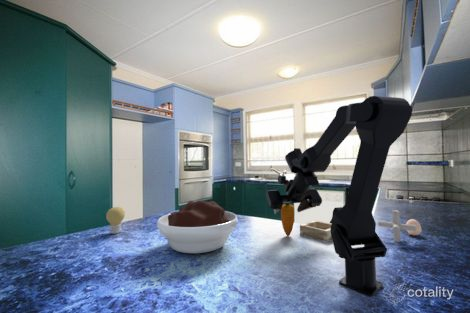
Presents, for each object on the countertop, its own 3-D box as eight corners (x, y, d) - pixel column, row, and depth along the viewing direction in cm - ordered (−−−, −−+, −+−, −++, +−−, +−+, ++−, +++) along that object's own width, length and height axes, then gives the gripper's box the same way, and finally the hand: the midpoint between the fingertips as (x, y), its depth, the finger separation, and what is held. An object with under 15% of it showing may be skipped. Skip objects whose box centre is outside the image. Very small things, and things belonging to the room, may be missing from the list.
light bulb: (119, 235, 82) (119, 208, 83) (102, 235, 82) (102, 208, 83) (127, 230, 89) (127, 205, 89) (112, 230, 89) (112, 205, 89)
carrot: (285, 233, 83) (285, 193, 83) (297, 236, 79) (296, 194, 80) (278, 236, 79) (277, 194, 80) (290, 239, 76) (289, 195, 76)
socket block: (327, 241, 73) (326, 231, 73) (300, 234, 81) (299, 225, 81) (341, 235, 79) (341, 225, 79) (315, 229, 87) (315, 220, 88)
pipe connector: (417, 248, 66) (415, 215, 66) (378, 242, 72) (376, 211, 72) (415, 239, 74) (414, 210, 74) (380, 234, 80) (379, 207, 80)
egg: (403, 234, 80) (402, 218, 80) (410, 232, 82) (409, 217, 82) (417, 237, 76) (416, 221, 76) (424, 236, 78) (423, 219, 78)
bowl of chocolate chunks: (138, 255, 63) (138, 203, 64) (190, 231, 86) (190, 193, 87) (211, 272, 53) (211, 209, 53) (249, 240, 75) (249, 196, 76)
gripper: (316, 166, 78) (301, 193, 88) (267, 166, 74) (257, 195, 84) (331, 190, 70) (312, 217, 80) (277, 192, 66) (264, 220, 76)
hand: (286, 211), depth 80 cm, fingers open, 9 cm apart
